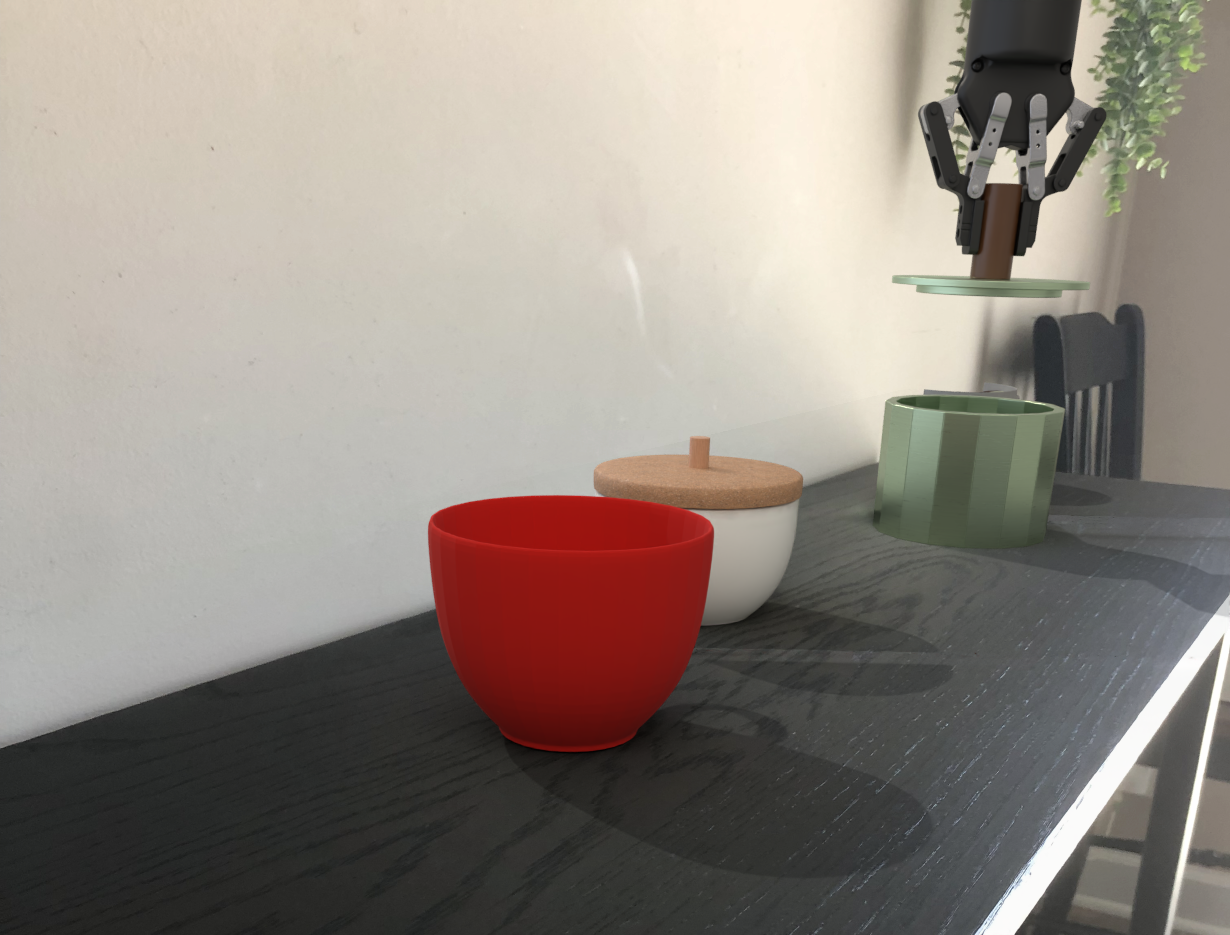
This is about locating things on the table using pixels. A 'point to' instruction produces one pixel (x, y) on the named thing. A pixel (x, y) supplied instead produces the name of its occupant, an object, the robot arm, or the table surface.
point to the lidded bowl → (721, 516)
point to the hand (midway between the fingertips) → (993, 253)
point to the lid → (994, 257)
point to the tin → (967, 470)
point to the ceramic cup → (569, 611)
